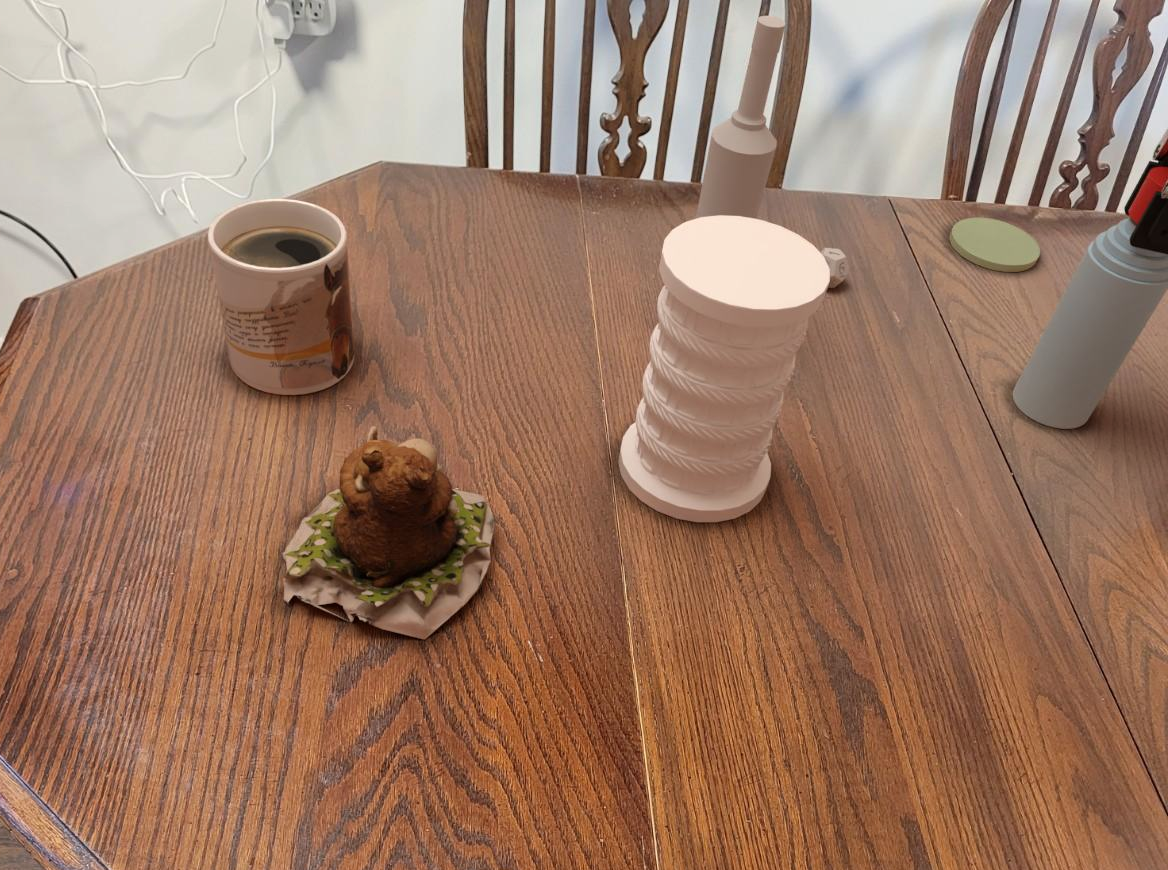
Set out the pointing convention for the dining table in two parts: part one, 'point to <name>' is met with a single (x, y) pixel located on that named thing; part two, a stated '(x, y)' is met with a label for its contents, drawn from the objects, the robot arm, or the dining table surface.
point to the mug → (284, 294)
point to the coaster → (994, 244)
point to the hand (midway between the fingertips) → (1148, 230)
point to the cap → (1148, 191)
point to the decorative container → (720, 364)
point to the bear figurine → (392, 541)
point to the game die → (836, 265)
